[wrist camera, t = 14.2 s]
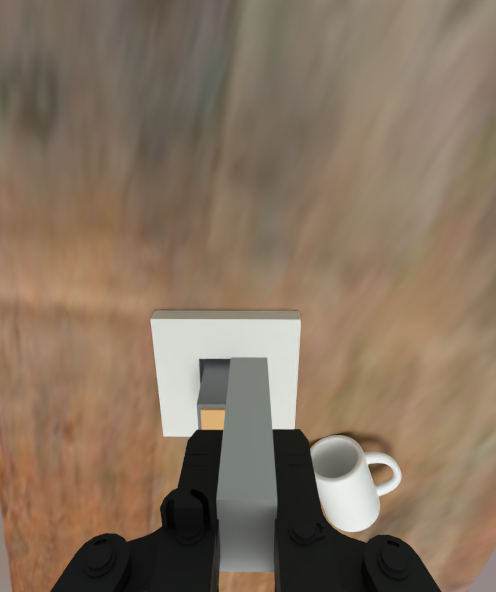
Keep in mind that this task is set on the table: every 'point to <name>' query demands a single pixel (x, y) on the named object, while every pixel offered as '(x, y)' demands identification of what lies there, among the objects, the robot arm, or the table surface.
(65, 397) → the table surface
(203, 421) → the plug
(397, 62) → the table surface
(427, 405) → the table surface
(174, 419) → the socket plate
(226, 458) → the robot arm
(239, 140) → the table surface
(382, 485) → the mug
